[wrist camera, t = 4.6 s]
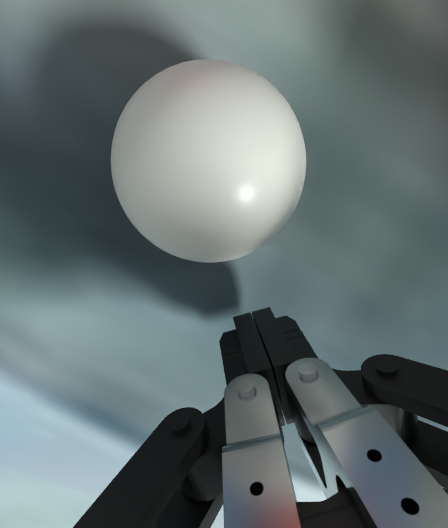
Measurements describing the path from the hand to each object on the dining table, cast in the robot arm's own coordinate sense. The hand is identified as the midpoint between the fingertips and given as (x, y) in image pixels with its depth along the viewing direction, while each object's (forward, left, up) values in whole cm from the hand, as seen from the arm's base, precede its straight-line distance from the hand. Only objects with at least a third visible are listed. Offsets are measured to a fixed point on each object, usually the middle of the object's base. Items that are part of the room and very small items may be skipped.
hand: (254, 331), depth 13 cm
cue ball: (0, -7, +1) cm, 7 cm away
